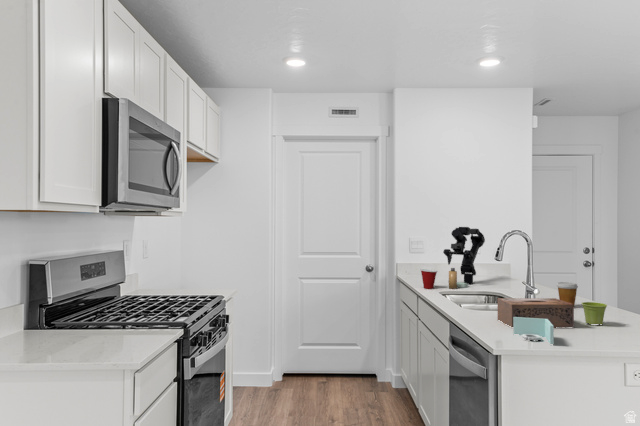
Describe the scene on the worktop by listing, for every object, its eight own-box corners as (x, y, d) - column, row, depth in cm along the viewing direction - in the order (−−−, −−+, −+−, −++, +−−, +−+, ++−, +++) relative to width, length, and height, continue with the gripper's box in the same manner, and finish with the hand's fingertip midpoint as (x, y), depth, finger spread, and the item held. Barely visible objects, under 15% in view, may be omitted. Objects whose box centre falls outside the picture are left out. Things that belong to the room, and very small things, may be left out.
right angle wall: (513, 336, 181) (513, 316, 181) (547, 338, 178) (547, 318, 178) (516, 344, 170) (516, 323, 170) (553, 347, 166) (553, 325, 166)
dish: (455, 284, 317) (455, 281, 317) (470, 286, 308) (470, 283, 309) (446, 286, 309) (446, 283, 309) (461, 288, 301) (461, 284, 301)
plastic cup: (439, 289, 295) (439, 270, 295) (422, 289, 295) (422, 270, 295) (435, 287, 306) (435, 268, 306) (418, 287, 306) (418, 268, 306)
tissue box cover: (555, 321, 208) (555, 298, 208) (573, 328, 193) (573, 304, 193) (497, 321, 207) (497, 298, 207) (511, 328, 192) (511, 304, 193)
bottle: (451, 287, 305) (451, 267, 305) (458, 288, 301) (458, 268, 301) (447, 288, 301) (447, 268, 301) (454, 289, 297) (454, 268, 298)
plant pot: (607, 327, 194) (606, 306, 194) (580, 325, 199) (580, 304, 199) (607, 323, 202) (607, 303, 202) (582, 321, 207) (582, 301, 207)
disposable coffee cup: (577, 306, 242) (577, 282, 242) (578, 309, 233) (578, 285, 233) (556, 304, 246) (556, 281, 246) (557, 307, 237) (557, 284, 237)
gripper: (442, 237, 314) (437, 258, 308) (469, 238, 302) (464, 260, 296) (449, 245, 321) (443, 266, 315) (475, 246, 309) (470, 268, 303)
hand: (455, 265), depth 307 cm, fingers open, 9 cm apart
